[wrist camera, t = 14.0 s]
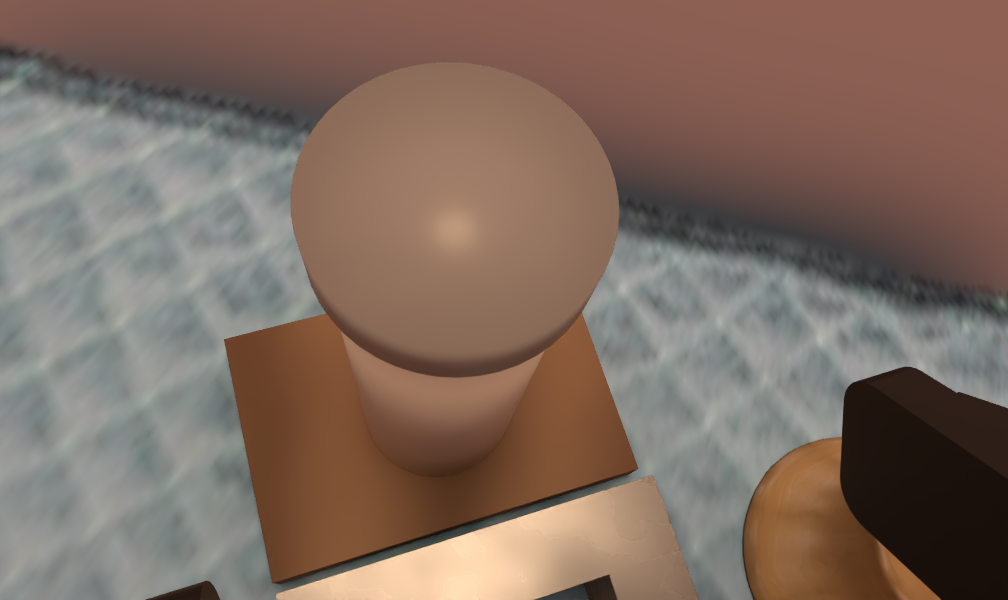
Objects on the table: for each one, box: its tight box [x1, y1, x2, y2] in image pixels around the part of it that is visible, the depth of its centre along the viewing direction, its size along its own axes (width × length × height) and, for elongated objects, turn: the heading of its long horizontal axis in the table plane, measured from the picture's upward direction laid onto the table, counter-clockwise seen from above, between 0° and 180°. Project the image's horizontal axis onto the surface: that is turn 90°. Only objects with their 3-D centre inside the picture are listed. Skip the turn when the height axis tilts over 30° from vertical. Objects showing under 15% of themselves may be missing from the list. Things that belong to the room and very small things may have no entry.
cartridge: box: [291, 62, 619, 477], centre depth 19 cm, size 5×5×14 cm
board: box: [224, 312, 638, 584], centre depth 26 cm, size 12×8×1 cm, turn 108°
